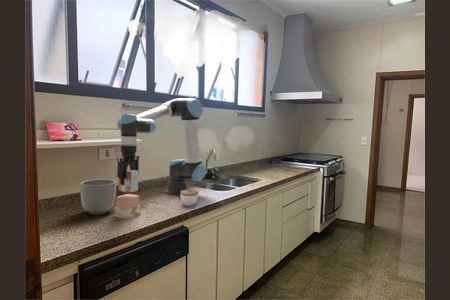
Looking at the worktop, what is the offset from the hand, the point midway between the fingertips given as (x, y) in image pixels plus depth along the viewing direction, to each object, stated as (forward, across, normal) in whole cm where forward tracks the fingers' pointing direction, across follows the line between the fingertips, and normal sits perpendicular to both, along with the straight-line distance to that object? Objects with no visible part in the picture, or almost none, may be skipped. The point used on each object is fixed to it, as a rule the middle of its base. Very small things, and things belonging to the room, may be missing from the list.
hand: (128, 189), depth 144 cm
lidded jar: (+13, -33, +17) cm, 40 cm away
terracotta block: (+8, 0, 0) cm, 8 cm away
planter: (+13, +4, -16) cm, 21 cm away
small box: (+1, 0, 0) cm, 1 cm away
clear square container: (+13, 0, 0) cm, 13 cm away
